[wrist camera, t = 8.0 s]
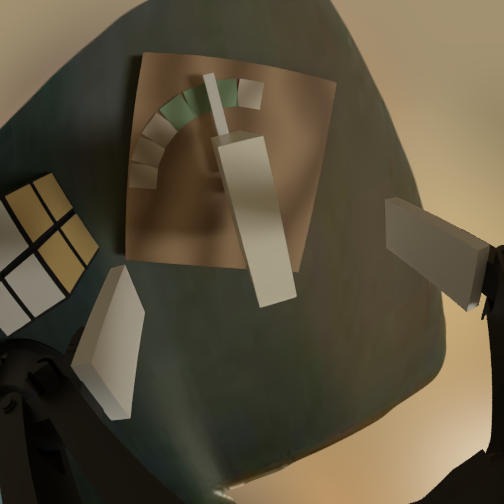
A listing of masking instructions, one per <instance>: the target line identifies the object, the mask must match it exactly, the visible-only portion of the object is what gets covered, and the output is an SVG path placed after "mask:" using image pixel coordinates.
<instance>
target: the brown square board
mask: <svg viewBox="0 0 504 504" xmlns="http://www.w3.org/2000/svg"><path fill="white" fill-rule="evenodd" d="M210 73H214V76H215V80H216V84H217V88H218V92H219V96H220V100H221V103H222V107H223V111H224V115H225V119H226V123H227V127H228V131H229V133H231V132H235V131H239V130H241V131H246V132H250V133H254V134H258V135H262V136H263V137H264V141H265V145H266V150H267V154H268V159H269V163H270V168H271V172H272V177H273V181H274V186H275V191H276V195H277V200H278V205H279V210H280V214H281V219H282V224H283V229H284V234H285V239H286V244H287V249H288V254H289V259H290V264H291V269H292V272H299V267H300V263H301V259H302V255H303V250H304V246H305V242H306V237H307V233H308V228H309V224H310V219H311V215H312V210H313V206H314V201H315V196H316V191H317V187H318V182H319V177H320V172H321V167H322V162H323V157H324V151H325V146H326V141H327V136H328V130H329V125H330V119H331V113H332V108H333V102H334V96H335V90H336V84H337V83H336V82H332V81H329V80H325V79H322V78H318V77H314V76H310V75H306V74H302V73H298V72H294V71H289V70H285V69H280V68H275V67H270V66H265V65H260V64H254V63H249V62H243V61H236V60H229V59H222V58H214V57H206V56H196V55H184V54H170V53H148V52H144V53H143V58H142V64H141V69H140V75H139V81H138V88H137V94H136V101H135V108H134V116H133V124H132V133H131V143H130V154H129V167H128V182H127V201H126V260H133V261H145V262H158V263H171V264H184V265H197V266H211V267H225V268H240V269H247V268H246V265H245V262H244V259H243V256H242V253H241V250H240V246H239V243H238V239H237V235H236V232H235V228H234V224H233V221H232V217H231V213H230V209H229V206H228V202H227V198H226V194H225V191H224V187H223V183H222V179H221V176H220V172H219V168H218V164H217V161H216V157H215V153H214V149H213V145H212V142H211V138H212V137H216V136H218V133H217V129H216V125H215V121H214V117H213V113H212V110H211V106H210V102H209V98H208V94H207V90H206V86H205V82H204V78H203V75H206V74H210Z"/></svg>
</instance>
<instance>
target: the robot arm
mask: <svg viewBox="0 0 504 504" xmlns="http://www.w3.org/2000/svg"><path fill="white" fill-rule="evenodd" d="M385 214H386V248H387V249H388V250H390V251H391V252H392V253H394V254H395V255H396V256H398V257H399V258H400V259H402V260H403V261H404V262H406V263H407V264H408V265H410V266H411V267H412V268H414V269H415V270H416V271H417V272H419V273H420V274H421V275H422V276H424V277H425V278H426V279H428V280H429V281H430V282H431V283H433V284H434V285H435V286H436V287H438V288H439V289H440V290H441V291H442V292H444V293H445V294H446V295H447V296H449V297H450V298H451V299H452V300H453V301H455V302H456V303H457V304H458V305H459V306H461V307H462V308H463V309H464V310H465V311H466V312H467V311H469V310H471V309H473V308H475V307H477V306H478V305H479V301H480V297H481V292H482V293H483V294H484V295H485V296H487V298H486V302H485V306H484V309H483V313H482V318H481V320H483V319H484V316H485V315H487V322H488V331H489V341H490V351H491V367H492V429H491V439H490V443H489V446H488V448H487V451H486V453H485V452H484V450H483V449H482V450H480V451H479V452H478V453H476V454H475V455H474V456H472V457H471V458H470V459H468V460H467V461H465V462H464V463H462V464H461V465H459V466H458V467H456V468H455V469H453V470H452V471H451V472H450V473H449V474H448V475H447V476H446V477H445V478H444V479H443V480H442V481H441V482H440V483H439V484H438V485H437V486H436V487H435V488H434V489H433V490H432V491H431V492H429V493H428V494H427V495H426V496H425V497H424V498H423V499H421V500H419V501H417V502H413V503H410V504H504V245H501V246H498V247H497V248H495V247H493V246H492V245H490V244H488V243H486V242H485V241H483V240H481V239H479V238H477V237H476V236H474V235H472V234H470V233H469V232H466V231H465V230H463V229H460V228H458V227H456V226H454V225H452V224H450V223H449V222H447V221H445V220H443V219H441V218H439V217H437V216H435V215H433V214H431V213H429V212H427V211H425V210H423V209H421V208H419V207H417V206H415V205H413V204H411V203H408V202H406V201H404V200H402V199H400V198H398V197H394V198H390V199H386V200H385ZM144 315H145V311H144V309H143V307H142V305H141V302H140V300H139V298H138V295H137V293H136V290H135V288H134V286H133V283H132V281H131V278H130V276H129V273H128V271H127V268H126V265H122V266H118V267H114V268H111V269H110V271H109V273H108V276H107V278H106V280H105V282H104V284H103V287H102V289H101V291H100V293H99V296H98V298H97V300H96V303H95V305H94V307H93V310H92V312H91V314H90V317H89V319H88V322H87V324H86V326H84V327H80V328H79V329H78V330H77V331H76V333H75V334H74V335H73V336H72V339H71V341H70V344H69V346H68V349H67V351H66V354H65V356H63V355H62V354H60V353H59V352H57V351H56V350H54V349H52V348H50V347H48V346H46V345H44V344H41V343H39V342H35V341H31V340H15V341H12V342H10V343H9V344H8V345H7V346H6V347H5V349H4V350H3V352H2V354H1V355H0V504H83V503H82V500H81V497H80V495H79V492H78V489H77V486H76V483H75V480H74V477H73V474H72V471H71V468H70V465H69V462H68V458H67V455H66V451H65V448H66V447H67V449H68V451H69V452H70V454H71V455H72V457H73V458H74V460H75V462H76V463H77V465H78V466H79V468H80V469H81V471H82V472H83V473H84V475H85V476H86V478H87V479H88V481H89V482H90V483H91V485H92V486H93V487H94V489H95V490H96V491H97V493H98V494H99V495H100V497H101V498H102V499H103V501H104V502H105V503H106V504H186V503H184V502H183V501H182V500H181V499H180V498H178V497H177V496H176V495H175V494H174V493H173V492H172V491H170V490H169V489H168V488H167V487H166V486H165V485H164V484H163V483H162V482H160V481H159V480H158V479H157V478H156V477H155V476H154V475H153V474H152V473H151V472H150V471H149V470H148V469H147V468H146V467H145V466H144V465H143V464H142V463H141V462H140V461H139V460H138V459H137V458H136V457H135V456H134V455H133V454H132V453H131V452H130V451H129V450H128V449H127V448H126V447H125V445H124V444H123V443H122V442H121V441H120V440H119V439H118V438H117V437H116V436H115V434H114V433H113V432H112V431H111V430H110V429H109V427H108V426H107V425H106V424H105V423H104V422H103V420H102V416H103V411H104V412H105V413H106V414H107V416H108V417H109V418H110V419H111V420H120V419H128V418H130V416H131V406H132V397H133V389H134V381H135V373H136V365H137V358H138V352H139V345H140V339H141V332H142V326H143V321H144Z"/></svg>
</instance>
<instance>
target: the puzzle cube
mask: <svg viewBox="0 0 504 504" xmlns="http://www.w3.org/2000/svg"><path fill="white" fill-rule="evenodd" d="M72 211H73V207H72V205H71V204H70V202H69V201H68V199H67V197H66V196H65V194H64V193H63V191H62V189H61V188H60V186H59V184H58V183H57V181H56V179H55V177H54V176H53V174H52V173H50V172H47V173H45V174H43V175H41V176H39V177H37V178H34V179H32V180H30V181H28V182H27V183H24V184H22V185H20V186H18V187H16V188H14V189H12V190H10V191H8V192H6V193H4V194H2V195H0V328H1V329H2V330H3V332H4V333H5V334H6V335H7V336H8V337H12V336H13V335H15V334H16V333H17V332H19V331H20V330H22V329H23V328H25V327H26V326H28V325H29V324H31V323H32V322H34V321H35V320H36V318H40V317H41V316H43V315H44V314H46V313H48V312H49V311H51V310H52V309H54V308H55V307H57V306H58V305H60V304H61V303H63V302H65V301H66V300H68V299H69V298H70V297H71V295H72V293H73V292H74V290H75V288H76V286H77V285H78V283H79V281H80V280H81V278H82V276H83V275H84V273H85V271H86V270H87V269H88V267H89V265H90V264H91V262H92V260H93V259H94V257H95V256H96V254H97V253H98V251H99V246H98V245H97V243H96V242H95V241H94V239H93V238H92V236H91V235H90V233H89V232H88V230H87V229H86V227H85V226H84V224H83V223H82V221H81V220H80V218H79V217H78V215H77V213H74V212H72ZM70 213H71V214H70Z"/></svg>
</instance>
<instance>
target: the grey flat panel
mask: <svg viewBox="0 0 504 504" xmlns="http://www.w3.org/2000/svg"><path fill="white" fill-rule="evenodd" d="M203 78H204V82H205V86H206V90H207V94H208V98H209V102H210V106H211V110H212V113H213V117H214V121H215V125H216V129H217V133H218V136H216V137H212V138H211V142H212V145H213V149H214V153H215V157H216V161H217V164H218V168H219V172H220V176H221V179H222V183H223V187H224V191H225V194H226V198H227V202H228V206H229V209H230V213H231V217H232V221H233V224H234V228H235V232H236V235H237V239H238V243H239V246H240V250H241V253H242V256H243V259H244V262H245V265H246V268H247V271H248V274H249V277H250V280H251V283H252V286H253V288H254V291H255V294H256V297H257V300H258V303H259V306H260V308H261V307H264V306H268V305H271V304H275V303H278V302H281V301H284V300H288V299H291V298H294V297H297V296H296V290H295V285H294V280H293V275H292V269H291V264H290V259H289V254H288V249H287V244H286V239H285V234H284V229H283V224H282V219H281V214H280V210H279V205H278V200H277V195H276V191H275V186H274V181H273V177H272V172H271V168H270V163H269V159H268V154H267V150H266V145H265V141H264V137H263V136H262V135H258V134H254V133H250V132H246V131H241V130H239V131H235V132H231V133H229V131H228V127H227V123H226V119H225V115H224V111H223V107H222V103H221V100H220V96H219V92H218V88H217V84H216V80H215V76H214V73H210V74H206V75H203Z"/></svg>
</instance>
